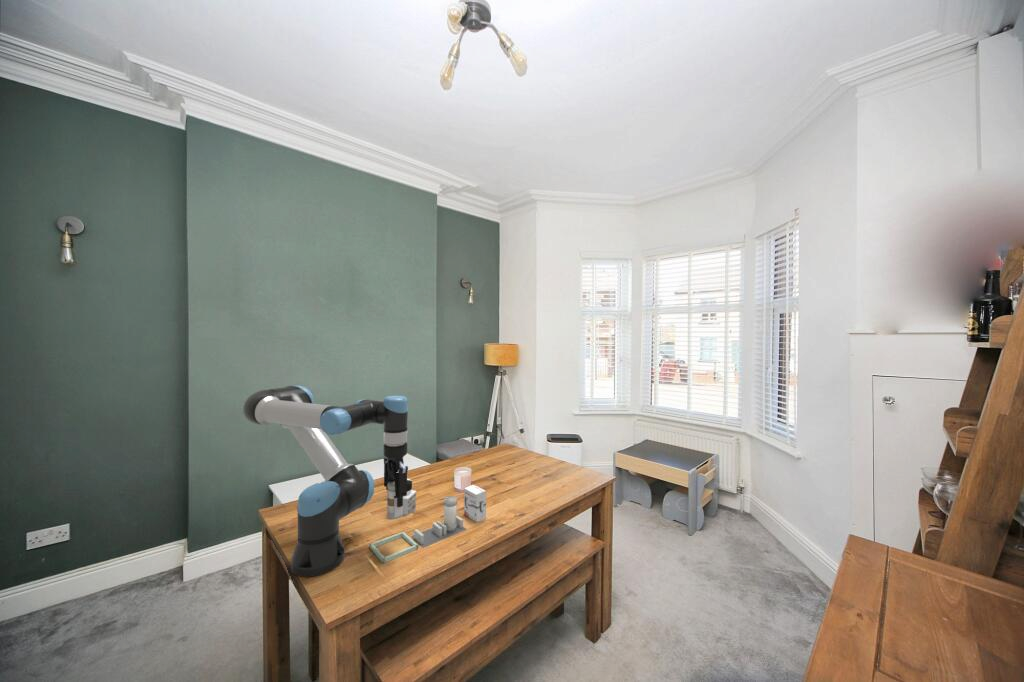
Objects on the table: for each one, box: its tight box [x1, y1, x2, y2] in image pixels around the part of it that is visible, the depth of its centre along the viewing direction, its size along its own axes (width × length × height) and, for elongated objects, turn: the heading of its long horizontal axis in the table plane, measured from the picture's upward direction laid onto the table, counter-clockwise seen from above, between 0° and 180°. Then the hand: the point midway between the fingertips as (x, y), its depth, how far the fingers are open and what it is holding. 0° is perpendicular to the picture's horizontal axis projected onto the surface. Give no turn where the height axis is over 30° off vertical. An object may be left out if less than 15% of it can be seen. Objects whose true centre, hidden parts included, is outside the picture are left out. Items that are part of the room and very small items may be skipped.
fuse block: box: [410, 515, 468, 548], centre depth 134 cm, size 18×9×4 cm, turn 132°
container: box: [402, 478, 417, 517], centre depth 150 cm, size 8×8×13 cm
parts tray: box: [369, 531, 419, 564], centre depth 124 cm, size 12×11×2 cm
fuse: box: [443, 495, 458, 532], centre depth 136 cm, size 5×5×11 cm
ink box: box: [463, 484, 487, 523], centre depth 146 cm, size 9×5×12 cm, turn 44°
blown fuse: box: [386, 481, 403, 520], centre depth 123 cm, size 5×5×11 cm
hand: (394, 512), depth 123 cm, fingers closed on blown fuse, 5 cm apart
